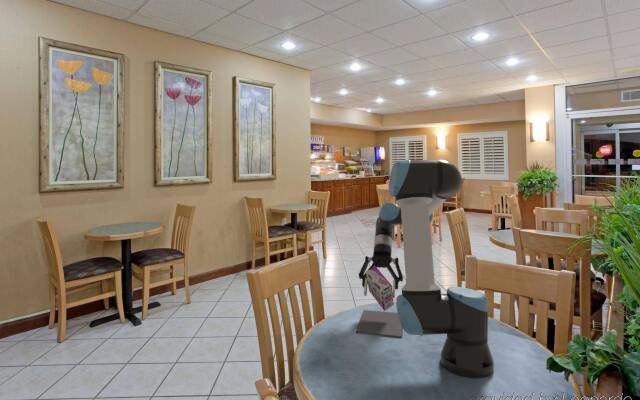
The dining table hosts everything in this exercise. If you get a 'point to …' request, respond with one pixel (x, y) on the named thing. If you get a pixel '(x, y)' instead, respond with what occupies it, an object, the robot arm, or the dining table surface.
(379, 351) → the dining table surface
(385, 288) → the candy bar box
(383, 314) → the charcoal mat
